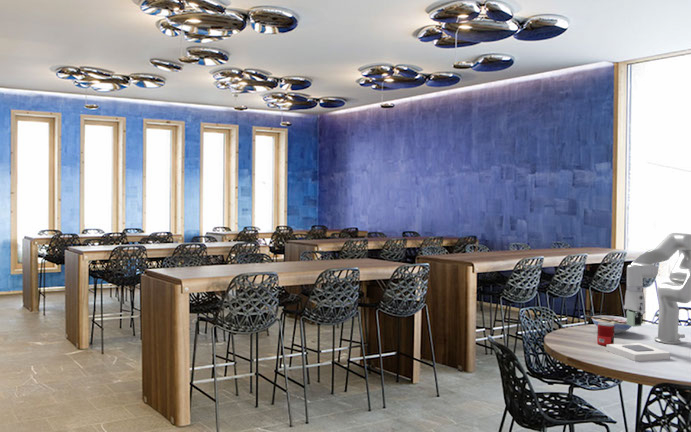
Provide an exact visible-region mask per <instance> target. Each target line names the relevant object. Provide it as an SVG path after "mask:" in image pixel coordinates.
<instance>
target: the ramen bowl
mask: <svg viewBox="0 0 691 432" xmlns="http://www.w3.org/2000/svg"><path fill="white" fill-rule="evenodd" d="M584 318H589V319H591V320H592V322H593V323H594V325H595V326H596V327H597V328H598V322H608V323H613V324H614V335H615V334H617V335H618V334H620V333H624V332H627V331H628V330H630V328H632V327H633V326H629V325H626V323H627V317H621V316H615V315H594V316H591V315H585V316H584Z"/></svg>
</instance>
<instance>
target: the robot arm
mask: <svg viewBox="0 0 691 432" xmlns="http://www.w3.org/2000/svg"><path fill="white" fill-rule="evenodd" d="M677 251H678V259H677V261H676V263H675V264H674V266H673V268H672V270H671V271H670V273H669V276H668V277H669V280H670V281H671V282H670V281H668V282H667V281H665V282H662V283H661V284H659V285H658V287H657V296H658V323H657V336H655V337H654V341H655V342H658V343H661V344H668V345H670V344H671V345H678V344H679V345H680V344H681V343H682V340H681V339H684V338H686V335H685V334H683V333H681V334H680V333H679V318H680V316H679V315H680V308H679V305H678V303H679V304H680V303H681V304H689V303H690V302H691V234H690V233H680V232H671V233H669V234H668V235H667V236H666V237H665V238H664V239H663V240H662V241H661V242H660V243H659V244H658V245H657V246H656V247H655V248H653V249H651V250H648V251H645V252H644V253H641V254H639V255H638V256H637V257H636V258H635V259H634V260H633V261H632V262H631V263H630V264H628V265H627V266H626V290H625V295H624V305H623V308H624V311H625V313H626V314H625V315H627V311H635V314H636V317H635V325H641V326H642V322H641V317H643V315H644V314H646V300H645V298H646V297H645V293H644V292H643V290H644V288H643V287H644V285H643V283H644V282H643V281H644V279H647V280H648V279H654V278H656V277H657V276H658V274H659V269H658V267H657V266H656V265H655V264H659V263H663V262H667V261H669V260H671V258H672V256H674V254H676V253H677ZM638 312H639V314H638Z"/></svg>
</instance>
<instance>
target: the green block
mask: <svg viewBox="0 0 691 432" xmlns="http://www.w3.org/2000/svg"><path fill="white" fill-rule="evenodd" d="M626 313H627V314H626V318H627V323H626V325H629V326H632V327H633V328H634V327H642V324H641V325H635V317H636V314H635V311H627V312H626ZM638 314H639V312H638ZM642 317H643V316H642ZM642 317H641V323H643V321H642Z"/></svg>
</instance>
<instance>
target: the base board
mask: <svg viewBox="0 0 691 432" xmlns="http://www.w3.org/2000/svg"><path fill="white" fill-rule="evenodd" d="M605 347H606V349H605V351H607V352H610V353H613V354H615V355H618V356H620V357H623V358H625V359H628V360H631V361H633V362H642V361H656V360H657V361H659V360H661V361H662V360H671V352H670V351H667V350H664V349H663V350H662V349H660V348H657V347H654V346H652V345H648V344H645V343H642V342H630V343H629V342H628V343H614V344H606V346H605Z"/></svg>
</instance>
